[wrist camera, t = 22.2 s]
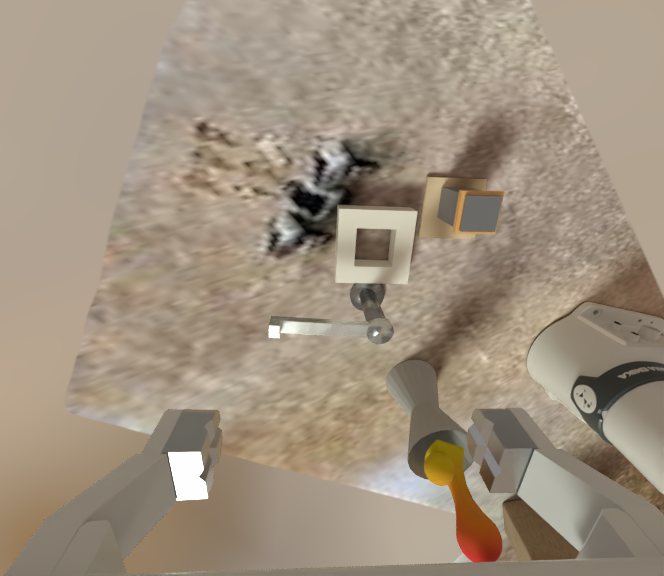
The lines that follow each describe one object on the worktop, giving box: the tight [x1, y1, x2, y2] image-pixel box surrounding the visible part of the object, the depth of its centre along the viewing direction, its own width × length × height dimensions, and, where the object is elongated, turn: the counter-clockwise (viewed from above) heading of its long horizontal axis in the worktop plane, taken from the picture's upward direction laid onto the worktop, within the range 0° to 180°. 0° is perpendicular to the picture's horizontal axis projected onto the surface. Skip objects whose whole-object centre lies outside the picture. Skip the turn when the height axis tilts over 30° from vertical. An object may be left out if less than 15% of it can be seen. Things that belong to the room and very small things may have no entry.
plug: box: [437, 187, 504, 234], centre depth 41 cm, size 5×5×8 cm
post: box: [350, 283, 385, 322], centre depth 45 cm, size 5×5×10 cm
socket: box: [334, 205, 418, 284], centre depth 45 cm, size 10×10×3 cm
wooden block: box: [503, 499, 579, 561], centre depth 63 cm, size 10×10×20 cm
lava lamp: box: [386, 360, 502, 562], centre depth 41 cm, size 9×9×35 cm
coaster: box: [418, 177, 488, 239], centre depth 45 cm, size 8×8×1 cm
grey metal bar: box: [269, 316, 394, 344], centre depth 39 cm, size 15×3×2 cm, turn 85°
